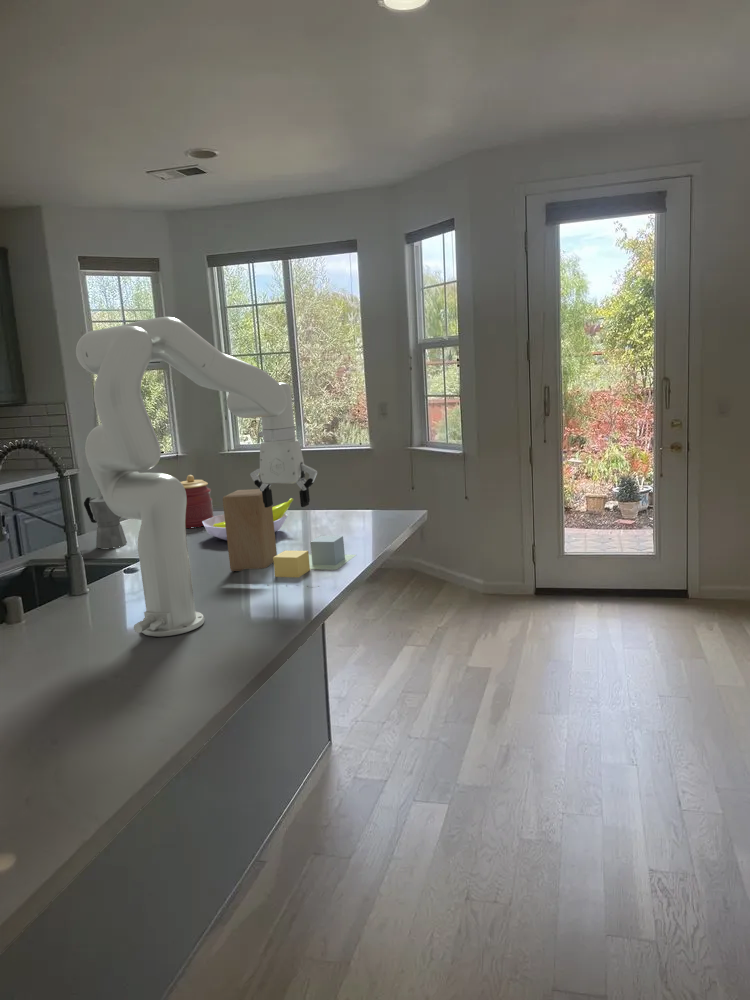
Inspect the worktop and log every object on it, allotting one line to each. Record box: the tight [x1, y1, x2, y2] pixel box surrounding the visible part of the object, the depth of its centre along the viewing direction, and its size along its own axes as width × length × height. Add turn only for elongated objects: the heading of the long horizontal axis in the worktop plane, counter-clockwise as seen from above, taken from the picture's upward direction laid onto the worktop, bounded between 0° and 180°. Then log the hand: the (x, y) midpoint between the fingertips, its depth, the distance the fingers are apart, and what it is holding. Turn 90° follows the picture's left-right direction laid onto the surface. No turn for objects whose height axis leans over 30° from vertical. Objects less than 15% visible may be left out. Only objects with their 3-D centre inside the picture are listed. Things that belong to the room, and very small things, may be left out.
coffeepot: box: [83, 495, 128, 549], centre depth 231 cm, size 15×9×18 cm, turn 67°
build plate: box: [308, 553, 357, 571], centre depth 189 cm, size 14×14×1 cm
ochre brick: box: [273, 550, 311, 578], centre depth 180 cm, size 6×6×6 cm
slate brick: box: [309, 535, 346, 565], centre depth 188 cm, size 6×6×6 cm
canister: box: [180, 474, 215, 529], centre depth 254 cm, size 13×13×18 cm
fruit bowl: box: [202, 497, 295, 541], centre depth 230 cm, size 28×27×11 cm
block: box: [222, 488, 278, 572], centre depth 191 cm, size 10×10×20 cm
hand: (286, 506), depth 177 cm, fingers open, 9 cm apart
